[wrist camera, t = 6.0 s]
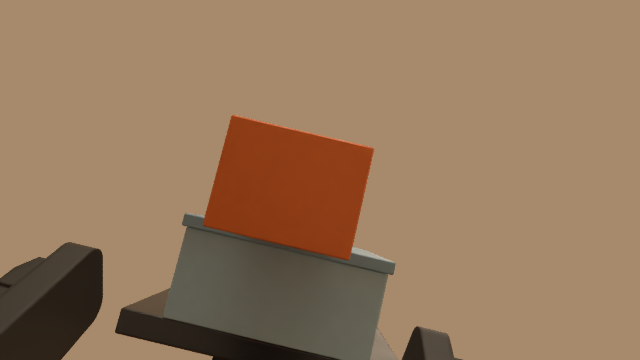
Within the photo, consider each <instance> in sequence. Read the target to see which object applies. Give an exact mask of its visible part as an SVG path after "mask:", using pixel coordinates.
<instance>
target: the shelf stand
mask: <svg viewBox="0 0 640 360" xmlns="http://www.w3.org/2000/svg"><path fill="white" fill-rule="evenodd" d="M169 291H170V288H169V289H167V290H165V291H162V292H160V293H158V294H155V295H152V296H150V297H148V298H145V299H143V300H141V301H138V302H136V303H133V304H131V305H129V306H126V307H124V308H122V309H121V312H120V316H119V319H118V323H117V326H116V330H115V332H116V333H118V334H122V335H126V336H130V337H135V338H138V339H143V340H147V341H151V342H155V343H160V344H164V345H168V346H172V347H176V348H180V349H184V350H189V351H192V352H197V353H201V354H205V355H209V356H213V358H212V360H339V359H335V358H331V357H327V356H322V355H318V354H314V353H310V352H306V351H301V350H297V349H293V348H289V347H285V346H281V345H276V344H272V343H268V342H264V341H260V340H256V339H251V338H247V337H243V336H239V335H235V334H231V333H226V332H222V331H218V330H214V329H210V328H206V327H201V326H197V325H193V324H189V323H185V322H181V321H176V320H172V319H168V318H164V317H163V314H164V310H165V306H166V303H167V299H168V295H169ZM370 360H398V359H397V357H396V355H395V354H394V352H393V351H392V349H391V348H390V346H389V344H388V343H387V342H386V340H385V338H384V337H383V335H382V334H381V332H380V331H379V329H378V328H377V330H376V335H375V339H374V344H373V349H372V353H371V358H370Z"/></svg>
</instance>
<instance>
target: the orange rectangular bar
mask: <svg viewBox="0 0 640 360" xmlns="http://www.w3.org/2000/svg"><path fill="white" fill-rule="evenodd" d="M373 152H374V148H372V147H368V146H364V145H360V144H356V143H351V142H347V141H343V140H338V139H334V138H330V137H326V136H321V135H316V134H312V133H308V132H304V131H299V130H296V129H291V128H287V127H283V126H278V125H274V124H270V123H266V122H261V121H257V120H252V119H248V118H244V117H240V116H235V115H232V116H231V120H230V124H229V128H228V131H227V135H226V139H225V143H224V147H223V150H222V154H221V158H220V161H219V166H218V169H217V173H216V177H215V180H214V184H213V188H212V192H211V196H210V199H209V203H208V207H207V211H206V215H205V218H204V222H203V226H204V227H209V228H213V229H217V230H221V231H226V232H230V233H234V234H238V235H242V236H247V237H251V238H255V239H259V240H264V241H268V242H272V243H276V244H280V245H285V246H289V247H293V248H297V249H302V250H306V251H310V252H314V253H318V254H323V255H327V256H331V257H335V258H340V259H344V260H349V259H350V256H351V251H352V247H353V242H354V238H355V233H356V229H357V224H358V220H359V215H360V210H361V206H362V202H363V197H364V192H365V188H366V184H367V179H368V175H369V170H370V165H371V161H372V157H373Z"/></svg>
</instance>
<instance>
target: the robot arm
mask: <svg viewBox="0 0 640 360" xmlns="http://www.w3.org/2000/svg"><path fill="white" fill-rule="evenodd" d="M102 298H103V255H102V252H101V250H99V249H96V248H92V247H88V246H84V245H80V244H75V243H71V242H68V243H65V244H64V245H62V246H61V247H60V248H58V249H57V250H56V251H55V252H53V253H52V254H51V255H50V256H48V257H47V258H46V259H45V258H41V257H38V258H36V259H33V260H31V261H29V262H26V263H24V264H22V265H19V266H17V267H15V268H13V269H12V270H11V271H9V272H8V273H7V274H5V275H4V276H3V277H2V278H0V360H61V359H62V358H63V357H64V356H65V354H66V353H67V352H68V351H69V350H70V348H71V347H72V346H73V345H74V344H75V342H76V341H77V340H78V339H79V338H80V337H81V335H82V334H83V333H84V332H85V331H86V330H87V329H88V327H89V326H90V325H91V324H92V323H93V321H94V320H95V318H96V316H97V314H98V312H99V310H100V307H101V303H102ZM402 360H462V359H457V358H454V356H453V351H452V347H451V343H450V339H449V336H448V335H447V334H446V333H443V332H438V331H435V330H431V329H426V328H422V327H416V328H415V329H414V330H413V332H412V335H411V338H410V340H409V343H408V345H407V348H406V351H405V353H404V356H403V358H402Z"/></svg>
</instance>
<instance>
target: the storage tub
mask: <svg viewBox="0 0 640 360" xmlns="http://www.w3.org/2000/svg"><path fill="white" fill-rule="evenodd" d="M204 218H205V215H197V214H189V213H185V215H184V219H183V222H182V225H184V226H188V227H187V228H186V232H185V236H184V239H183V243H182V247H181V251H180V254H179V258H178V262H177V265H176V269H175V273H174V277H173V281H172V284H171V288H170V291H169V295H168V299H167V303H166V306H165V310H164V314H163V317H164V318H168V319H172V320H176V321H181V322H185V323H189V324H193V325H197V326H201V327H206V328H210V329H214V330H218V331H222V332H226V333H231V334H235V335H239V336H243V337H247V338H251V339H256V340H260V341H264V342H268V343H272V344H276V345H281V346H285V347H289V348H293V349H297V350H301V351H306V352H310V353H314V354H318V355H322V356H327V357H331V358H335V359H339V360H370V358H371V353H372V349H373V344H374V339H375V335H376V330H377V325H378V320H379V315H380V310H381V306H382V301H383V297H384V292H385V287H386V283H387V278H388V274H390V275H393V274H394V269H395V263H394V262H392V261H390V260H387V259H385V258H383V257H380V256H378V255H376V254H373V253H371V252H368V251H366V250H363V249H359V248H355V247H352V251H351V256H350V259H349V260H344V259H340V258H335V257H331V256H327V255H323V254H318V253H314V252H310V251H306V250H302V249H297V248H293V247H289V246H285V245H280V244H276V243H272V242H268V241H264V240H259V239H255V238H251V237H247V236H242V235H238V234H234V233H230V232H226V231H221V230H217V229H213V228H209V227H204V226H203V222H204Z"/></svg>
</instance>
